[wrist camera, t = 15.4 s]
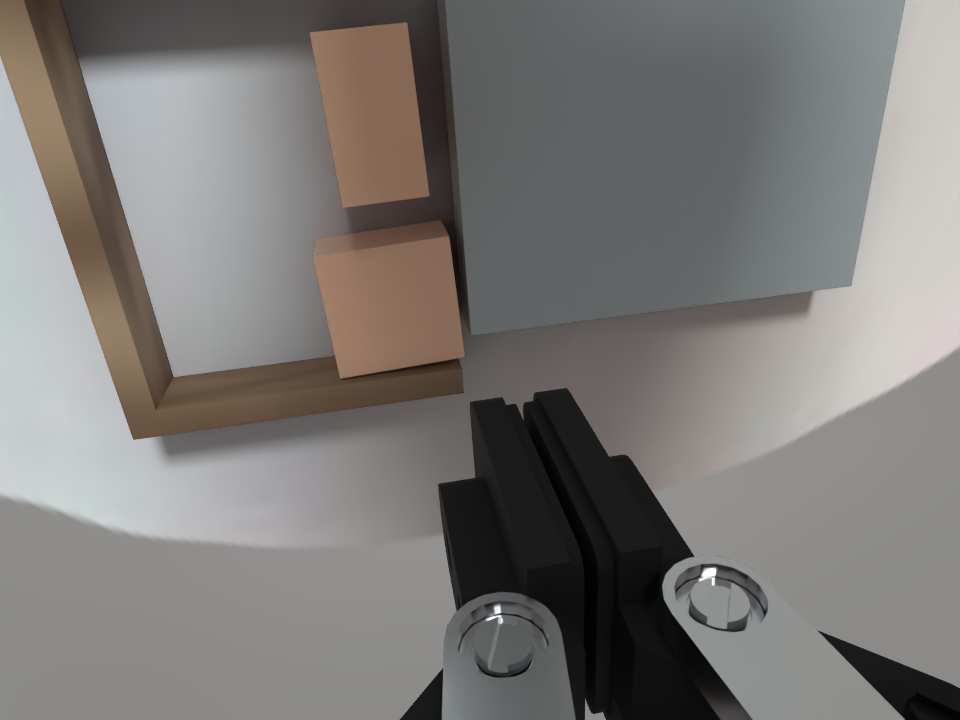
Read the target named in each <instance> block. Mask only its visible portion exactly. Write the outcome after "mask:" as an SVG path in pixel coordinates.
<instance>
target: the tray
mask: <svg viewBox="0 0 960 720" xmlns="http://www.w3.org/2000/svg"><path fill="white" fill-rule="evenodd" d="M0 56H1V59H2V62H3V65H4V68H5V71H6V74H7V77H8V80H9V82H10V85H11V88H12V91H13V94H14V97H15V100H16V103H17V105H18V108H19V111H20V114H21V117H22V120H23V123H24V126H25V129H26V131H27V134H28V137H29V140H30V143H31V146H32V149H33V152H34V154H35V157H36V160H37V163H38V166H39V169H40V172H41V175H42V178H43V180H44V183H45V186H46V189H47V192H48V195H49V198H50V201H51V204H52V206H53V209H54V212H55V215H56V218H57V221H58V224H59V227H60V229H61V232H62V235H63V238H64V241H65V244H66V247H67V250H68V253H69V255H70V258H71V261H72V264H73V267H74V270H75V273H76V276H77V278H78V281H79V284H80V287H81V290H82V293H83V296H84V299H85V302H86V304H87V307H88V310H89V313H90V316H91V319H92V322H93V325H94V328H95V330H96V333H97V336H98V339H99V342H100V345H101V348H102V351H103V353H104V356H105V359H106V362H107V365H108V368H109V371H110V374H111V377H112V379H113V382H114V385H115V388H116V391H117V394H118V397H119V400H120V402H121V405H122V408H123V411H124V414H125V417H126V420H127V423H128V426H129V428H130V431H131V434H132V437H133V440H135V439H142V438H149V437H156V436H163V435H170V434H177V433H185V432H192V431H199V430H206V429H213V428H220V427H227V426H234V425H241V424H248V423H255V422H262V421H269V420H276V419H283V418H290V417H297V416H304V415H311V414H318V413H325V412H332V411H339V410H347V409H354V408H361V407H368V406H375V405H382V404H389V403H396V402H403V401H410V400H417V399H424V398H431V397H438V396H445V395H452V394H459V393H464V389H463V377H462V368H461V365H460V362H459V359H458V358H457V359H451V360H446V361H440V362H434V363H428V364H423V365H417V366H411V367H405V368H400V369H394V370H388V371H382V372H377V373H371V374H365V375H359V376H354V377H348V378H342V379H340V376H339V371H338V367H337V362H336V358H335V356H333V357H326V358H318V359H311V360H303V361H295V362H288V363H280V364H273V365H265V366H257V367H250V368H242V369H235V370H227V371H219V372H212V373H204V374H196V375H189V376H181V377H174V378H173V375H172V372H171V368H170V365H169V362H168V358H167V355H166V352H165V348H164V345H163V342H162V338H161V335H160V332H159V328H158V325H157V322H156V318H155V315H154V312H153V308H152V305H151V302H150V298H149V295H148V292H147V289H146V285H145V282H144V279H143V275H142V272H141V269H140V265H139V262H138V259H137V255H136V252H135V249H134V245H133V242H132V239H131V235H130V232H129V229H128V225H127V222H126V219H125V215H124V212H123V209H122V206H121V202H120V199H119V196H118V192H117V189H116V186H115V182H114V179H113V176H112V172H111V169H110V166H109V162H108V159H107V156H106V152H105V149H104V146H103V142H102V139H101V136H100V132H99V129H98V126H97V123H96V119H95V116H94V113H93V109H92V106H91V103H90V99H89V96H88V93H87V89H86V86H85V83H84V79H83V76H82V73H81V69H80V66H79V63H78V59H77V56H76V53H75V49H74V46H73V43H72V39H71V36H70V33H69V30H68V26H67V23H66V20H65V16H64V13H63V10H62V6H61V3H60V0H0Z"/></svg>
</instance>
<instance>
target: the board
mask: <svg viewBox="0 0 960 720" xmlns="http://www.w3.org/2000/svg"><path fill="white" fill-rule="evenodd" d="M904 4H905V0H437V8H438V20H439V32H440V44H441V56H442V68H443V80H444V93H445V105H446V117H447V129H448V141H449V153H450V165H451V178H452V190H453V202H454V214H455V226H456V238H457V250H458V262H459V275H460V287H461V299H462V311H463V317H464V320H465V322H466V324H467V327H468V329H469V332H470V334H471V336H473V335H481V334H488V333H496V332H504V331H511V330H519V329H527V328H534V327H542V326H549V325H557V324H565V323H572V322H580V321H588V320H595V319H603V318H611V317H618V316H626V315H633V314H641V313H649V312H656V311H664V310H672V309H679V308H687V307H694V306H702V305H710V304H717V303H725V302H733V301H740V300H748V299H756V298H763V297H771V296H778V295H786V294H794V293H801V292H809V291H817V290H824V289H832V288H839V287H847V286H851V285H852V279H853V274H854V269H855V263H856V258H857V253H858V248H859V242H860V237H861V232H862V226H863V221H864V216H865V211H866V205H867V200H868V195H869V189H870V184H871V179H872V174H873V168H874V163H875V158H876V152H877V147H878V142H879V137H880V131H881V126H882V121H883V115H884V110H885V105H886V100H887V94H888V89H889V84H890V78H891V73H892V68H893V63H894V57H895V52H896V47H897V41H898V36H899V31H900V26H901V20H902V15H903V10H904Z"/></svg>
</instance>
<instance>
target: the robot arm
mask: <svg viewBox="0 0 960 720" xmlns="http://www.w3.org/2000/svg"><path fill="white" fill-rule="evenodd" d="M470 415H471V427H472V440H473V452H474V465H475V477H476V478H473V479H466V480H460V481H454V482H447V483H441V484H438V488H439V499H440V508H441V517H442V525H443V533H444V540H445V547H446V554H447V560H448V566H449V572H450V577H451V583H452V588H453V594H454V599H455V604H456V610H457V612H456V613H455V614H454V616H453V617H452V619H451V621H450V623H449V624H448V625H447V629H446V634H445V639H444V661H443V669H442V670H441V671H440V672H439V673H438V675H437V676H436V677H435V678H434V679H433V681H432V682H431V683H430V684H429V685H428V687H427V688H426V689H425V690H424V692H423V693H422V694H421V695H420V696H419V697H418V699H417V700H416V701H415V702H414V703H413V705H412V706H411V707H410V708H409V709H408V711H407V712H406V713H405V714H404V715H403V717H402V718H401V719H400V720H585V698H586V701H587V704H588V707H589V709H590V711H591V713H593V714H596V713H601V712H603V713H604V716H605V718H606V720H960V688H958V687H956V686H954V685H952V684H950V683H948V682H945V681H943V680H940V679H937V678H935V677H933V676H930V675H928V674H925V673H923V672H920V671H918V670H915V669H913V668H910V667H908V666H905V665H903V664H900V663H898V662H895V661H893V660H890V659H888V658H885V657H883V656H880V655H878V654H875V653H872V652H870V651H868V650H865V649H863V648H860V647H858V646H855V645H853V644H850V643H847V642H845V641H843V640H840V639H838V638H835V637H833V636H830V635H828V634H825V633H822V632H820V631H817V630H816V629H815V628H814V627H813V626H812V625H811V624H810V623H809V622H808V621H807V620H806V619H805V618H804V617H803V616H802V615H801V614H800V613H799V611H797V610H796V608H795V607H794V606H793V605H792V604H791V603H790V602H789V601H788V600H787V599H786V598H785V597H784V596H783V595H782V594H781V593H780V592H779V591H778V590H777V589H776V588H775V587H774V586H773V585H772V584H771V583H770V582H769V581H768V580H767V579H766V578H764V577H763V576H762V575H761V574H759V573H758V572H757V571H756V570H754V569H752V568H750V567H748V566H746V565H745V564H742V563H741V562H738V561H736V560H732V559H728V558H724V557H720V556H704V555H703V556H697V557H694V555H693V553H692V552H691V551H690V549H689V547H688V546H687V544H686V543H685V541H684V540H683V538H682V537H681V535H680V534H679V532H678V531H677V529H676V527H675V526H674V525H673V523H672V521H671V520H670V518H669V517H668V515H667V514H666V512H665V511H664V509H663V508H662V506H661V505H660V503H659V501H658V500H657V498H656V497H655V495H654V494H653V492H652V491H651V489H650V488H649V486H648V485H647V483H646V482H645V480H644V478H643V477H642V475H641V474H640V472H639V471H638V469H637V468H636V466H635V465H634V463H633V462H632V460H631V459H630V458H629V457H628V456H626V455H618V456H612V457H609V456H608V454H607V453H606V451H605V449H604V448H603V446H602V444H601V443H600V441H599V440H598V438H597V436H596V435H595V433H594V431H593V430H592V428H591V426H590V425H589V423H588V421H587V420H586V418H585V416H584V415H583V413H582V411H581V410H580V408H579V407H578V405H577V403H576V402H575V400H574V398H573V397H572V395H571V393H570V392H569V390H568V389H567V388H564V389H557V390H550V391H543V392H536V393H535V394H534V398H533V401H531V402H525V403H524V406H523V416H524V421H523V419H522V417H521V414H520V412H519V410H518V407H517V405H516V404H510V405H506V404H505V402H504V400H503V398H494V399H487V400H480V401H473V402H470Z"/></svg>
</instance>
